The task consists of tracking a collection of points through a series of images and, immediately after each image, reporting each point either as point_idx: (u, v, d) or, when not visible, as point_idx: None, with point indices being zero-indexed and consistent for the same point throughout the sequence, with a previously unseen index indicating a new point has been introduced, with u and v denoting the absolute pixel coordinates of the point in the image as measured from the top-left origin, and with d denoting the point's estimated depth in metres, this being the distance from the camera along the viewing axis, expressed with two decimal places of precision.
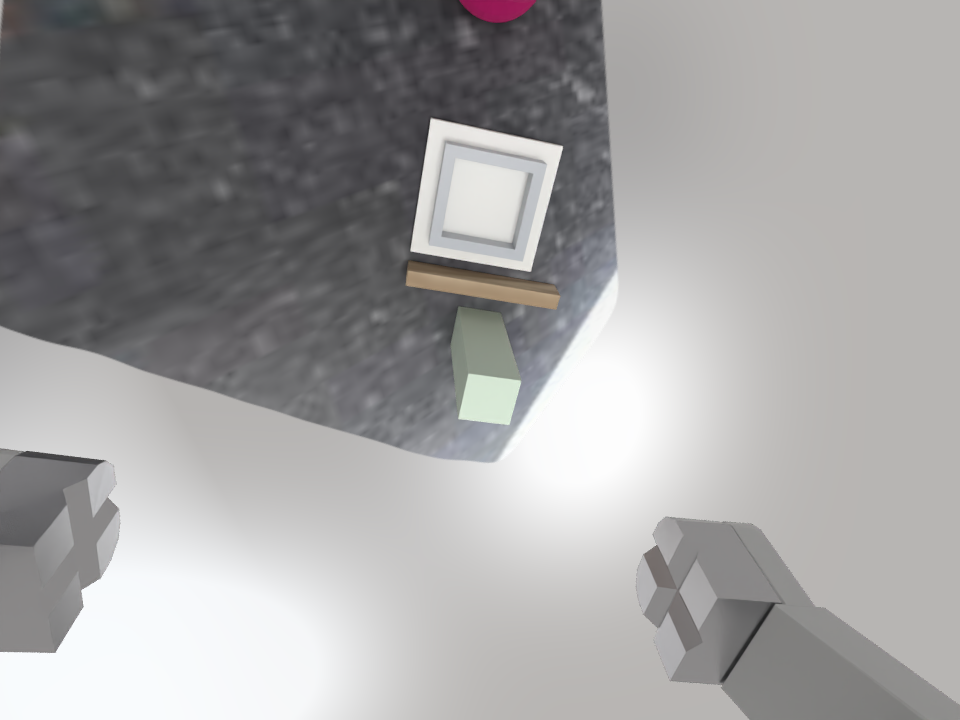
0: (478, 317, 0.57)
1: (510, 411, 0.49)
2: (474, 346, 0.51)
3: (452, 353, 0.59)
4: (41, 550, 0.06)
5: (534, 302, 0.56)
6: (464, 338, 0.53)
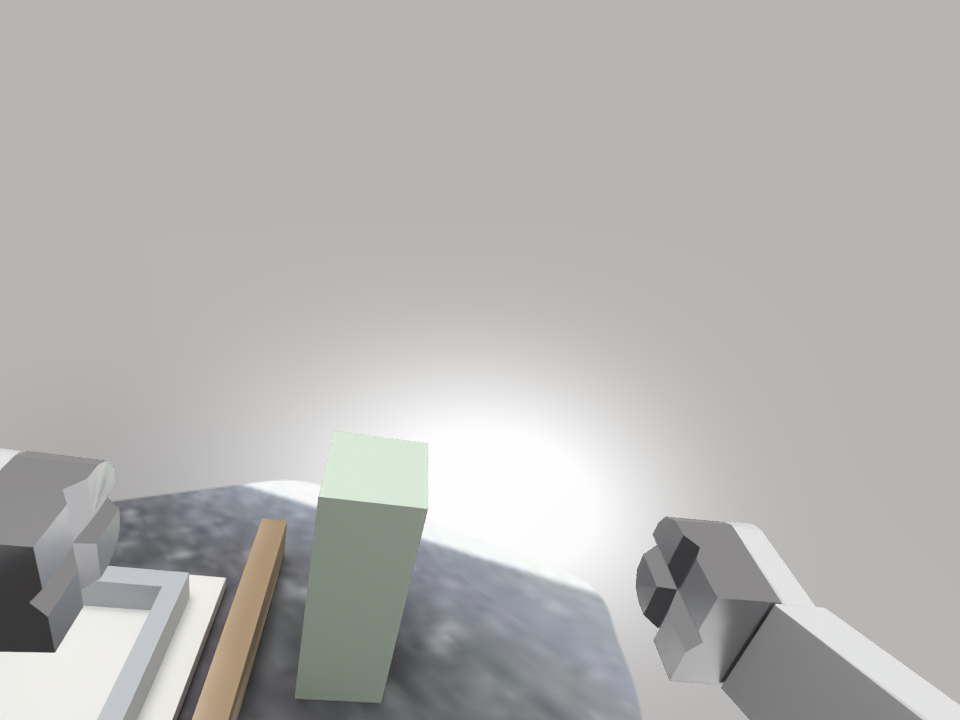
0: None
1: (399, 442, 0.28)
2: None
3: (381, 671, 0.29)
4: (41, 550, 0.06)
5: (271, 549, 0.34)
6: (306, 600, 0.26)
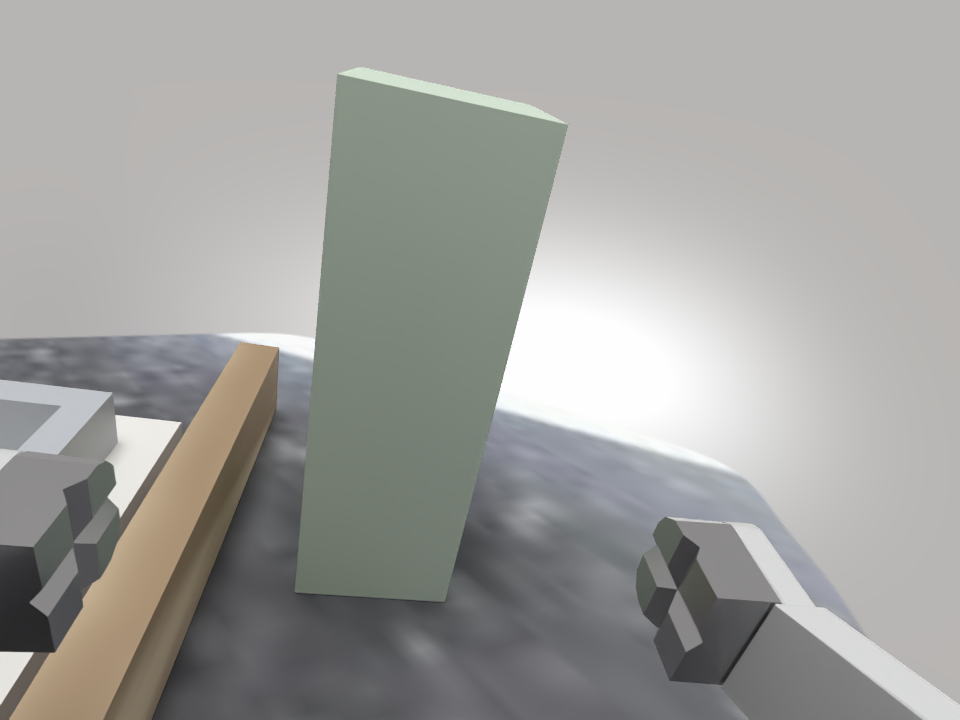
0: None
1: (480, 94, 0.15)
2: None
3: (449, 537, 0.16)
4: (41, 550, 0.06)
5: (254, 375, 0.21)
6: (313, 373, 0.14)
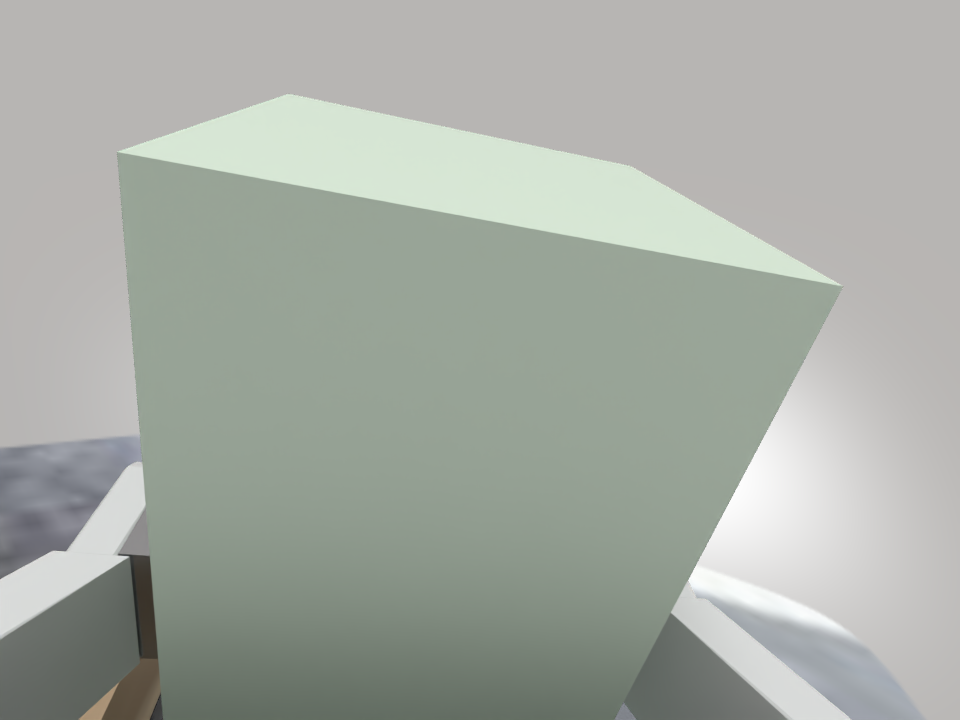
0: None
1: (536, 148, 0.07)
2: None
3: None
4: None
5: None
6: None
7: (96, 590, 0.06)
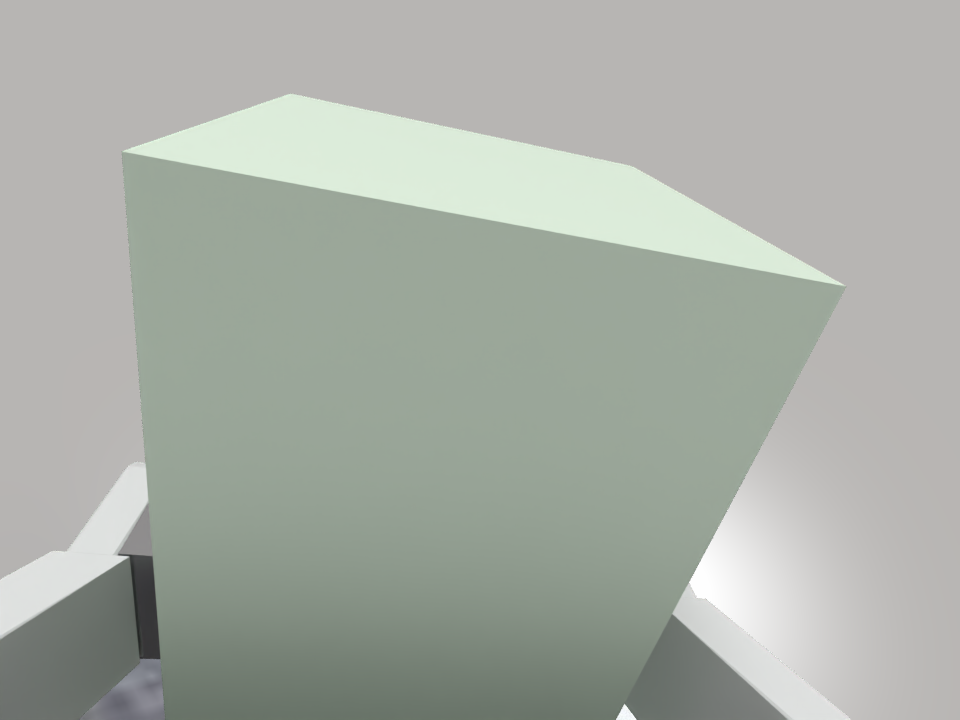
0: None
1: (537, 148, 0.07)
2: None
3: None
4: None
5: None
6: None
7: (96, 590, 0.06)
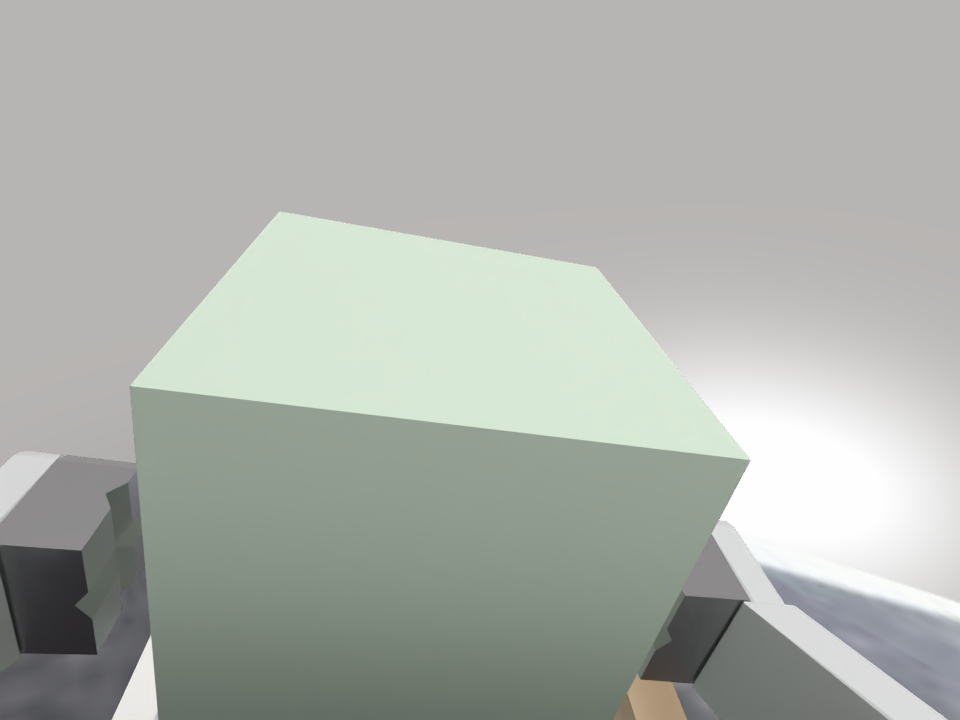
0: None
1: (507, 256, 0.08)
2: None
3: None
4: (88, 553, 0.06)
5: None
6: None
7: None
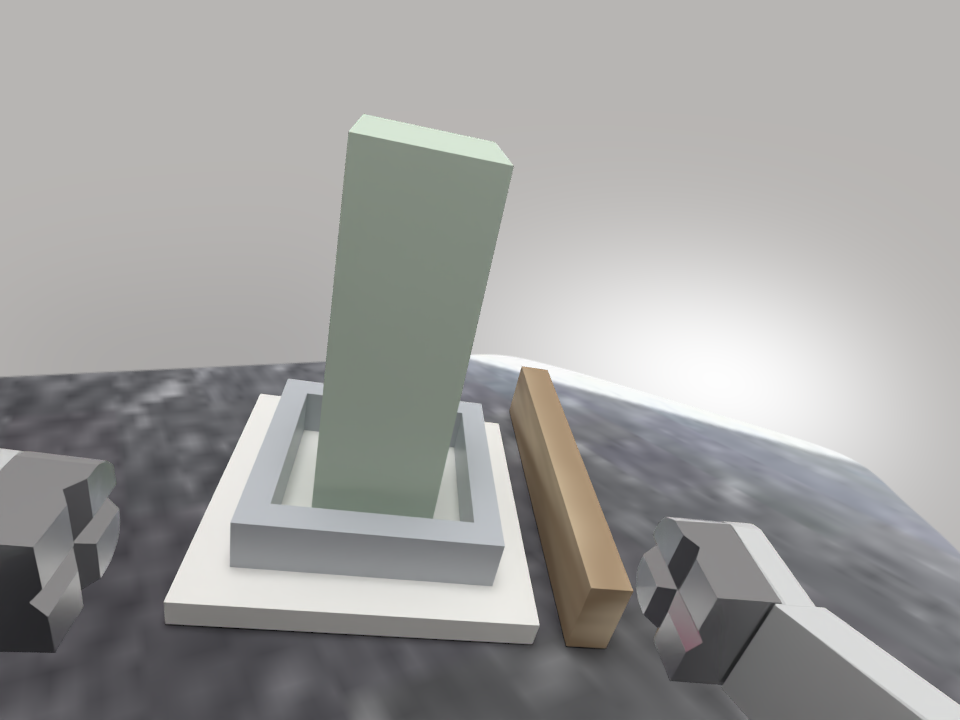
0: None
1: (456, 134, 0.19)
2: None
3: (431, 480, 0.21)
4: (41, 550, 0.06)
5: (549, 391, 0.30)
6: (327, 347, 0.18)
7: None
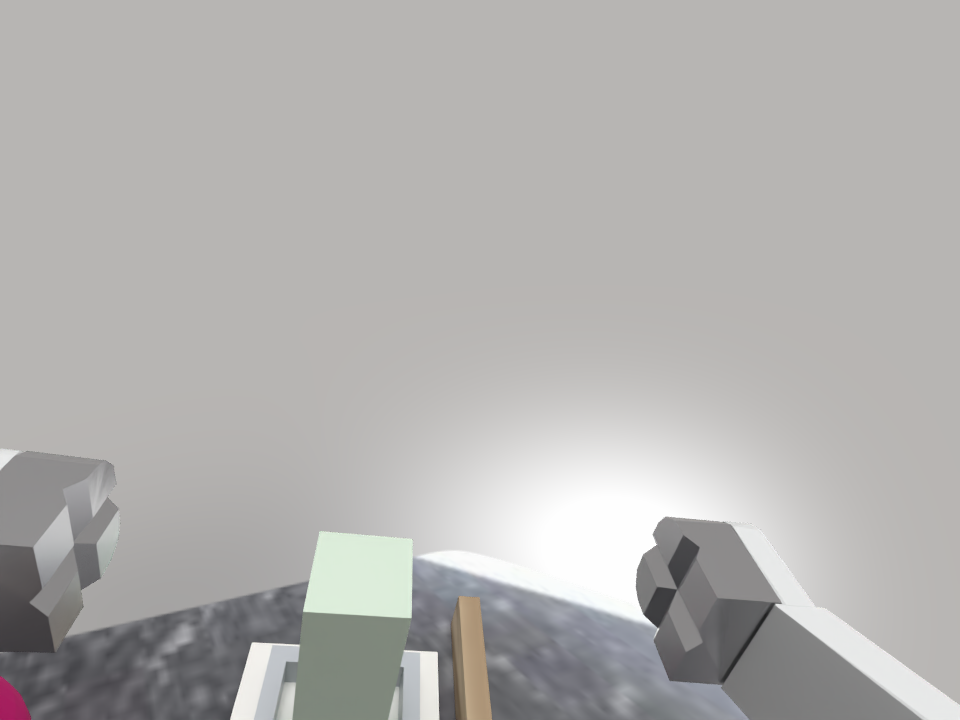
0: None
1: (384, 539, 0.28)
2: None
3: None
4: (41, 550, 0.06)
5: (477, 626, 0.39)
6: (294, 702, 0.27)
7: None
